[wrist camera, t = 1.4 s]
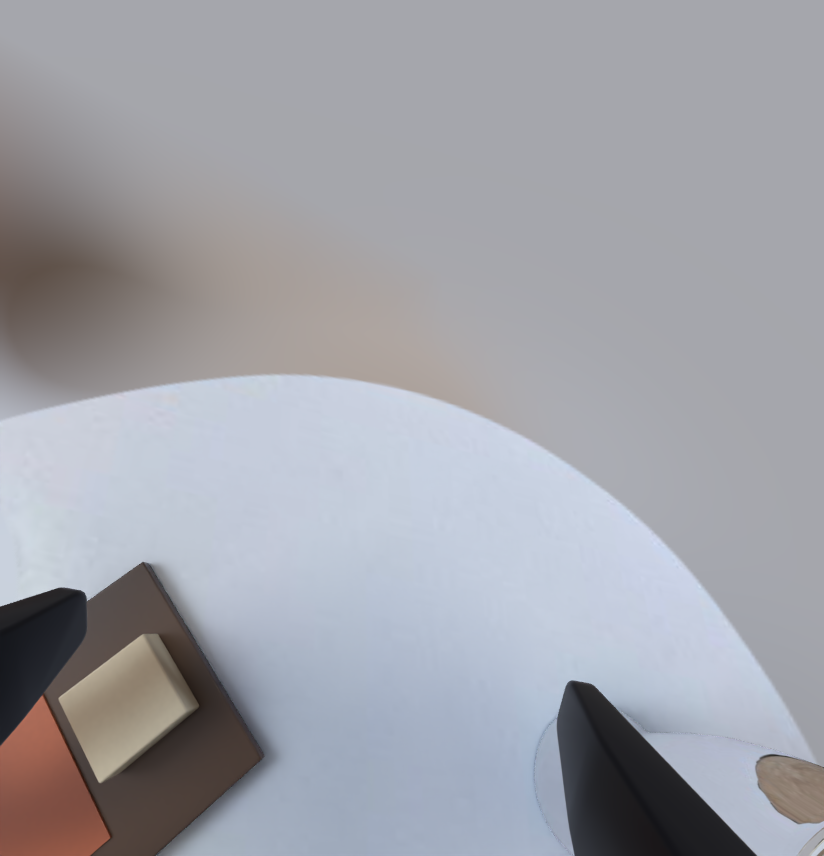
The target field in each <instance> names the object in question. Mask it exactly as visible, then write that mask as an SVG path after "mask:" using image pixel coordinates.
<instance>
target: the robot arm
mask: <svg viewBox="0 0 824 856" xmlns="http://www.w3.org/2000/svg"><path fill="white" fill-rule="evenodd" d="M86 632H87V598H86V595H85V593H84V592H82V591H81V590H75V589H70V588H57V589H54V590H51V591H47V592H44V593H41V594H38V595H35V596H32V597H29V598H26V599H22V600H19V601H16V602H13V603H10V604H7V605H4V606H1V607H0V746H1V745H2V744H3V742H4V741H5V740H6V739H7V738H8V737H9V736H10V734H11V733H12V732H13V731H14V730H15V729H16V728H17V726H18V725H19V724H20V723H21V722H22V720H23V719H24V718H25V717H26V715H27V714H28V713H29V712H30V710H31V709H32V708H33V706H34V705H35V704H36V703H37V701H38V700H39V699H40V697H41V696H42V695H43V693H44V692H45V691H46V689H47V688H48V687H49V685H50V684H51V683H52V681H53V680H54V679H55V678H56V676H57V675H58V674H59V672H60V671H61V670H62V668H63V667H64V666H65V664H66V663H67V662H68V660H69V659H70V658H71V656H72V655H73V654H74V653H75V651H76V650H77V649H78V647H79V646H80V645H81V643H82V642H83V640H84V638H85V635H86ZM557 737H558V745H559V753H560V761H561V769H562V777H563V785H564V793H565V802H566V810H567V817H568V824H569V831H570V836H571V841H572V846H573V850H574V855H575V856H757V855H756V854H755V853H754V852H753V851H752V850H751V849H750V848H749V847H748V846H747V844H746V843H745V842H744V841H743V840H742V839H741V838H740V837H739V836H738V835H737V834H736V833H735V832H734V831H733V830H732V829H731V828H730V827H729V826H728V825H727V824H726V823H725V822H724V821H723V819H722V818H721V817H720V816H719V815H718V814H717V813H716V812H715V811H714V810H713V809H712V808H711V807H710V806H709V805H708V804H707V803H706V802H705V801H704V800H703V799H702V798H701V797H700V796H699V794H698V793H697V792H696V791H695V790H694V789H693V788H692V787H691V786H690V785H689V784H688V783H687V782H686V781H685V780H684V779H683V778H682V777H681V776H680V775H679V774H678V773H677V772H676V771H675V769H674V768H673V767H672V766H671V765H670V764H669V763H668V762H667V761H666V760H665V759H664V758H663V757H662V756H661V755H660V754H659V753H658V752H657V751H656V750H655V749H654V748H653V747H652V746H651V744H650V743H649V742H648V741H647V740H646V739H645V738H644V737H643V736H642V735H641V734H640V733H639V732H638V731H637V730H636V729H635V728H634V727H633V726H632V725H631V724H630V723H629V722H628V721H627V719H626V718H625V717H624V716H623V715H622V714H621V713H620V712H619V711H618V710H617V709H616V708H615V707H614V706H613V705H612V704H611V703H610V702H609V701H608V700H607V699H606V698H605V697H604V696H603V694H602V693H601V692H600V691H599V690H598V689H597V688H596V687H595V686H593V685H592V684H589V683H584V682H579V681H573V680H572V681H569V682H568V684H567V685H566V688H565V691H564V695H563V699H562V702H561V706H560V709H559V713H558V717H557Z"/></svg>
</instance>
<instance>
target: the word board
mask: <svg viewBox="0 0 824 856" xmlns="http://www.w3.org/2000/svg"><path fill="white" fill-rule="evenodd" d="M263 758H264V754H263V752H262V751H261V749H260V747H259V746H258V744H257V742H256V741H255V739H254V738H253V736H252V734H251V733H250V731H249V729H248V728H247V726H246V724H245V723H244V721H243V719H242V718H241V716H240V714H239V713H238V711H237V709H236V708H235V706H234V704H233V703H232V701H231V699H230V698H229V696H228V694H227V693H226V691H225V690H224V688H223V686H222V685H221V683H220V681H219V680H218V678H217V676H216V675H215V673H214V671H213V670H212V668H211V666H210V665H209V663H208V661H207V660H206V658H205V656H204V655H203V653H202V651H201V650H200V648H199V646H198V645H197V643H196V642H195V640H194V638H193V637H192V635H191V633H190V632H189V630H188V628H187V627H186V625H185V623H184V622H183V620H182V618H181V617H180V615H179V613H178V612H177V610H176V608H175V607H174V605H173V603H172V602H171V600H170V598H169V597H168V595H167V594H166V592H165V590H164V589H163V587H162V585H161V584H160V582H159V580H158V579H157V577H156V575H155V574H154V572H153V570H152V569H151V567H150V565H149V564H148V563H145V562H142V563H140V564H139V565H138V566H136V567H135V568H133V569H132V570H131V571H129V572H128V573H126V574H125V575H124V576H122V577H121V578H119V579H118V580H117V581H115V582H114V583H112V584H111V585H110V586H108V587H107V588H105V589H104V590H103V591H101V592H100V593H98V594H97V595H95V596H94V597H93V598H91V599H90V600H88V601H87V632H86V635H85V638H84V640H83V642H82V643H81V645H80V646H79V647H78V649H77V650H76V651H75V653H74V654H73V655H72V656H71V658H70V659H69V660H68V662H67V663H66V664H65V666H64V667H63V668H62V670H61V671H60V672H59V674H58V675H57V676H56V678H55V679H54V680H53V681H52V683H51V684H50V685H49V687H48V688H47V689H46V691H45V692H44V693H43V695H42V696H41V697H40V699H39V700H38V701H37V703H36V704H35V705H34V706H33V708H32V709H31V710H30V712H29V713H28V714H27V715H26V717H25V718H24V719H23V720H22V722H21V723H20V724H19V725H18V726H17V728H16V729H15V730H14V731H13V732H12V733H11V734H10V736H9V737H8V738H7V739H6V740H5V741H4V742H3V744H2V745H1V746H0V856H155V855H156V854H157V853H159V852H160V851H161V850H162V849H163V848H164V847H165V846H166V845H167V844H169V843H170V842H171V841H172V840H173V839H174V838H175V837H176V836H177V835H178V834H180V833H181V832H182V831H183V830H184V829H185V828H186V827H187V826H188V825H190V824H191V823H192V822H193V821H194V820H195V819H196V818H197V817H198V816H200V815H201V814H202V813H203V812H204V811H205V810H206V809H207V808H208V807H210V806H211V805H212V804H213V803H214V802H215V801H216V800H217V799H218V798H220V797H221V796H222V795H223V794H224V793H225V792H226V791H227V790H228V789H229V788H231V787H232V786H233V785H234V784H235V783H236V782H237V781H238V780H239V779H241V778H242V777H243V776H244V775H245V774H246V773H247V772H248V771H249V770H251V769H252V768H253V767H254V766H255V765H256V764H257V763H258V762H259V761H261V760H262V759H263Z"/></svg>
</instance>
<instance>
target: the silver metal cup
mask: <svg viewBox="0 0 824 856" xmlns="http://www.w3.org/2000/svg"><path fill="white" fill-rule="evenodd" d="M619 712H620V711H619ZM620 713H621V714H622V715H623V716H624V717H625V718H626V719H627V721H628V722H629V723H630V724H631V725H632V726H633V727H634V728H635V729H636V730H637V731H638V732H639V733H640V734H641V735H642V736H643V737H644V738H645V739H646V740H647V741H648V742H649V743H650V744H651V746H652V747H653V748H654V749H655V750H656V751H657V752H658V753H659V754H660V755H661V756H662V757H663V758H664V759H665V760H666V761H667V762H668V763H669V764H670V765H671V766H672V767H673V768H674V769H675V771H676V772H677V773H678V774H679V775H680V776H681V777H682V778H683V779H684V780H685V781H686V782H687V783H688V784H689V785H690V786H691V787H692V788H693V789H694V790H695V791H696V792H697V793H698V794H699V796H700V797H701V798H702V799H703V800H704V801H705V802H706V803H707V804H708V805H709V806H710V807H711V808H712V809H713V810H714V811H715V812H716V813H717V814H718V815H719V816H720V817H721V818H722V819H723V821H724V822H725V823H726V824H727V825H728V826H729V827H730V828H731V829H732V830H733V831H734V832H735V833H736V834H737V835H738V836H739V837H740V838H741V839H742V840H743V841H744V842H745V843H746V844H747V846H748V847H749V848H750V849H751V850H752V851H753V852H754V853H755V854H756V855H757V856H824V767H821V766H819V765H816V764H813V763H811V762H808V761H805V760H802V759H800V758H797V757H794V756H791V755H789V754H786V753H783V752H781V751H778V750H774V749H771V748H767V747H763V746H760V745H756V744H752V743H749V742H745V741H741V740H738V739H733V738H728V737H721V736H713V735H705V734H696V733H669V732H648V731H647V730H645V729H644V728H643V727H642V726H641V725H640V724H639V723H637V722H636V721H635V720H633V719H632V718H631V717H629V716H628V715H626V714H624V713H622V712H620ZM534 782H535V790H536V795H537V800H538V803H539V807H540V809H541V812H542V815H543V817H544V819H545V821H546V823H547V825H548V827H549V829H550V830H551V832H552V833H553V835H554V836H555V837H556V839H557V840H558V841H559V842H560V844H561V845H562V846H563V847H564V848H565V849H566V850H567V851H568V852H569V853H570V854H572V855H573V856H575V855H574V850H573V846H572V841H571V836H570V831H569V824H568V817H567V810H566V802H565V793H564V785H563V777H562V769H561V761H560V753H559V745H558V737H557V718H556V719H555V720H554V721H553V722H552V723H551V724H550V725H549V726H548V728H547V729H546V731H545V733H544V734H543V736H542V738H541V741H540V743H539V746H538V749H537V753H536V758H535V766H534Z"/></svg>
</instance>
